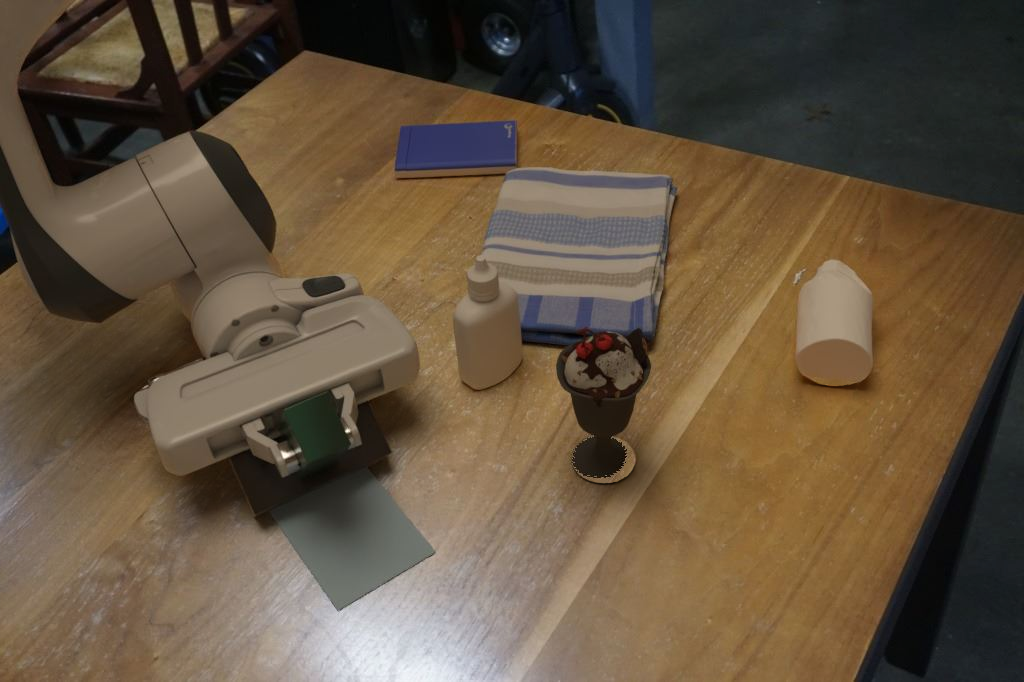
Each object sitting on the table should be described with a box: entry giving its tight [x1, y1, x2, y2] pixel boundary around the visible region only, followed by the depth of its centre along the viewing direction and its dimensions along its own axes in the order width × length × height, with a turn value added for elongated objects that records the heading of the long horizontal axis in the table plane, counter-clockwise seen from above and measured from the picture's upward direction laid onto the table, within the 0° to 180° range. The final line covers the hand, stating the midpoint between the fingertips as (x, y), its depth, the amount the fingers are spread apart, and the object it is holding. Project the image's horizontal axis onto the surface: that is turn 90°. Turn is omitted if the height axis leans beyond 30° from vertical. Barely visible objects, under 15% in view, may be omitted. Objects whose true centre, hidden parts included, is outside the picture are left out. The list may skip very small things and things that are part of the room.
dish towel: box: [480, 166, 678, 346], centre depth 101 cm, size 17×24×3 cm
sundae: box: [555, 327, 652, 478], centre depth 79 cm, size 7×7×15 cm
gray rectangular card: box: [268, 466, 436, 612], centre depth 81 cm, size 12×8×1 cm, turn 35°
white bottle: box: [794, 259, 874, 383], centre depth 90 cm, size 6×12×6 cm, turn 167°
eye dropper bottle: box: [452, 254, 524, 391], centre depth 88 cm, size 4×6×12 cm
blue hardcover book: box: [394, 119, 518, 179], centre depth 115 cm, size 2×8×12 cm
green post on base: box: [227, 392, 393, 518], centre depth 79 cm, size 11×6×11 cm
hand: (321, 455), depth 77 cm, fingers closed on green post on base, 3 cm apart
